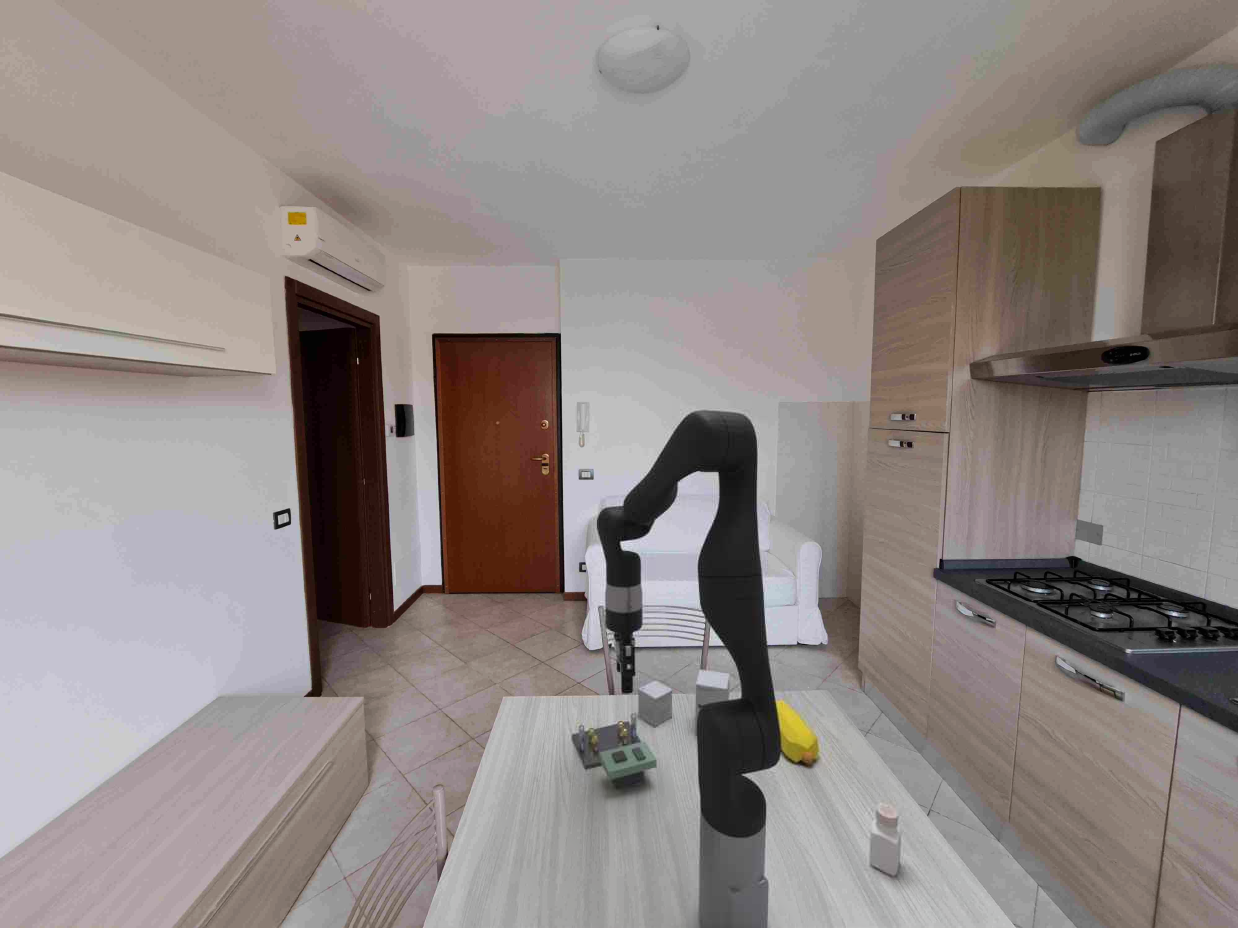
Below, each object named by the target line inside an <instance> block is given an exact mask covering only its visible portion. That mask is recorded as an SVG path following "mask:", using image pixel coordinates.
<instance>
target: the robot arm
mask: <svg viewBox="0 0 1238 928" xmlns="http://www.w3.org/2000/svg"><path fill="white" fill-rule="evenodd" d="M758 453H759V452H758V439H757V433H756V430H755V427H754V425H753V422H752V421H751V419H750V418H749V417H748V416H746V415H745V414H743V413H741V412H735V411H722V410H705V409H703V410H694V411H691V412H690V413H689V414H687V415H685V417H684V418H683V419H682V420H681V421H680V422H679V424H678V425H677V426H676V428H675V429H674V431H673V432H672V434H671V436H670V437H669V439H668V440H667V442H666V444H665V445H664V447H663V448H662V450H661V452H660V453H659V455H658V457H657V459H656V460H655V462H654V464H653V465H652V467H651V469H650V470H649V471H648V472H647V474H646V475H645V476H644V477H643V478H642V479H641V480H640V481H639V482H638V483H637V484H636V485H635V486H634V487H633V488H632V489H631V490H630V491H629V492H628V493H627V495H626V496H625V497H624V500H623V502H622V503H623V504H622V505H618V506H617V505H616V506H607V507H604V508H602V509H601V511H600V512H599V513H598V516H597V519H596V531H597V533H598V537H599V540H600V544H601V547H602V551H603V556H604V560H605V572H606V575H605V581H606V582H605V583H606V584H605V593H604V594H605V595H604V596H605V597H604V598H605V599H604V601H605V602H604V603H605V604H604V605H605V606H604V608H605V609H604V610H605V611H604V612H605V615H604V617H605V619H604V621H605V627H606V628H607V630H609V632H612V633H613V646H614V647H613V648H614V652H615V654H616V656H615V657H616V671H617V673H620V678H621V679H620V685H621V686H620V691H621V694H623V695H624V694H625V695H627V694H632V693H633V692H634V677H636V675H637V674H636V673H637V672H636V639H635V637H634V633H635V632H638V631H640V629H642V627H643V610H644V609H643V588H642V560H641V556H640V554H638V553H637V552H635V551H633V550H632V551H631V550H625V549H623V548H622V546H621V543H622V542H629V541H634V540H640V539H642V538H643V537H646V536H648V534H649V533H650V532H651V530H652V528H653V526H654V524H655V521H656V520H657V519H658V518H660V517H662V515H663V514H664V513H666V512H667V510H669V509H670V507H672V505H673V504H674V503H675V501H676V499H677V496H678V491H679V486H678V485H679V482H681V481H682V480H683V479H685V478H687V477H688V476H690V475H692V474H693V473H696V472H700V473H717V475H718V496H719V497H718V504H717V505H718V506H717V510H716V513H715V516H714V519H713V522H712V523H711V526H710V528H709V530H708V533H707V535H706V537H705V539H704V540H703V544H702V546H701V549H700V552H699V556H698V560H697V581H698V594H699V595H698V597H699V598H698V599H699V605H700V609H701V612H702V614H703V615H704V618H705V620H706V621H707V622H708V624H709V626H710V628H711V629H712V630H713V631H714V634H716V636H717V638H718V639H719V640H720V641H721V643H722V644H723V645H724V646H725V649H726V650H727V652H728V653H729V654H730V656H731V658H732V660H733V662H734V664H735V667H736V669H737V673H738V678H739V682H740V689H741V690H740V691H741V693H740V694H741V696H740V698H735V699H729V700H727V701H720V702H714V703H709V704H705V705H703V706H702V707H701V709H700V710H699V713H698V717H697V735H696V743H697V745H696V746H697V749H696V750H697V777H698V779H697V781H698V789H699V790H698V791H699V799H700V801H699V804H700V805H699V806H700V807H699V808H700V811H699V814H700V815H699V816H700V817H699V859H698V860H699V861H698V862H699V864H698V865H699V868H698V869H699V873H698V874H699V875H698V877H699V878H698V918H699V920H698V921H699V924H700V927H701V928H768V920H769V912H768V911H769V887H770V886H769V885H770V883H769V881H768V879H767V878H766V876H765V873H766V872H765V869H766V867H765V866H766V840H767V839H766V837H767V836H766V835H767V801H766V798H765V794H764V792H763V791H762V788H760V786H759V785H758V784H757V783H756V782H755V781H753V780H752V779H750V778H749V777H747V776H746V775H747V774H751V773H756V772H760V771H765V770H769V769H772V768H774V767H775V766H777V764H778V763H779V761H780V758H781V754H782V752H781V751H782V748H781V733H780V725H779V718H778V712H777V706H776V702H777V701H776V695H775V689H774V684H773V677H772V671H771V666H770V665H771V664H770V658H769V648H768V646H769V645H768V639H767V627H766V615H765V613H766V612H765V593H764V582H763V580H764V579H763V568H762V562H761V561H762V560H761V552H760V542H759V541H760V539H759V522H758V504H757V503H758V457H759V454H758ZM628 666H629V668H628Z"/></svg>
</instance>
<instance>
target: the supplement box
mask: <svg viewBox="0 0 1238 928" xmlns="http://www.w3.org/2000/svg"><path fill="white" fill-rule="evenodd" d="M730 677H731V675H730V673H728V672H727V673H726V672H719V671H713V670H706V669H699V670H698V675H697V679H696V683H695V710H694V711H695V715H694V719H695V721H694V735H695V736H697V717H698V713H699V710H700V709H701V707H702V706H703V705H705V704H709V703H714V702H720V701H727V700H730V698H729V697H730V679H731V678H730Z"/></svg>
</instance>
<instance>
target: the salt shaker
mask: <svg viewBox="0 0 1238 928" xmlns="http://www.w3.org/2000/svg"><path fill="white" fill-rule="evenodd" d="M875 809H876V810H875V818H874V820H873V822H872V825H871V828H870V837H869V854H868V855H869V858H868V860H869V864H870V865H871V866H873V867H874V868H876V869H878V870H880V871H881V872H883V873H886V874H887V875H890V876H892V877H895V876H896V875H897V873H898V869H899V866H900V862H901V847H902V846H901V845H902V829H901V828H900V827H899V811H898V810H897V809H896V808H895V807H894V806H893V805H890V804H888V803H886V802H880V803H878V804H877V805H876V808H875Z"/></svg>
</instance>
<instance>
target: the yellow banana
mask: <svg viewBox="0 0 1238 928" xmlns="http://www.w3.org/2000/svg"><path fill="white" fill-rule="evenodd" d="M776 706H777V712H778V718H779V725H780V733H781V751H782V752H783V753H784V754H785V756H786V757H787V758H789V759H790V760H791V761H793V762H795V763H798V762H799V761H801V762H803V763H805V764H806V765H811V764H812V763H813V762H814V760H818V756H819V751H820V750H819V742H818V737H817V736H816V734H815V733H814V732H813V730H812V729H811V728H810V726H809V725H808V724H807V723H806V722H805V720H804V719H803V718H802V717H801V716H800V715H799V714H798V713H797V712H796V711H795V710H794V709H793V708H791V706H790V705H789V704H787V702H786V701H784V700H783V699H782V700H778V701H776Z"/></svg>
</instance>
